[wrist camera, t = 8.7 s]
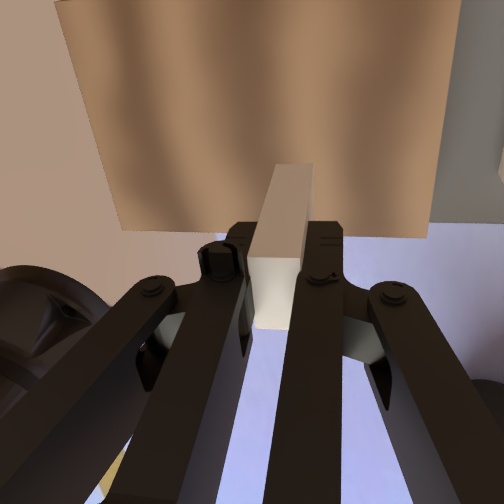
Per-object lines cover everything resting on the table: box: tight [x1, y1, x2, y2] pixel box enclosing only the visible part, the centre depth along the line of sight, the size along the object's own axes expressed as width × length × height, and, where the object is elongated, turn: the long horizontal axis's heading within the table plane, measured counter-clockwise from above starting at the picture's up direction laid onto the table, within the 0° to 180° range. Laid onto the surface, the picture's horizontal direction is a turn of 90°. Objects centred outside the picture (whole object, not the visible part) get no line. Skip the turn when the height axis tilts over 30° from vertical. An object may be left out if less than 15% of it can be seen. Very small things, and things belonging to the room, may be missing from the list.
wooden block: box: [54, 0, 461, 238], centre depth 27 cm, size 20×14×4 cm
